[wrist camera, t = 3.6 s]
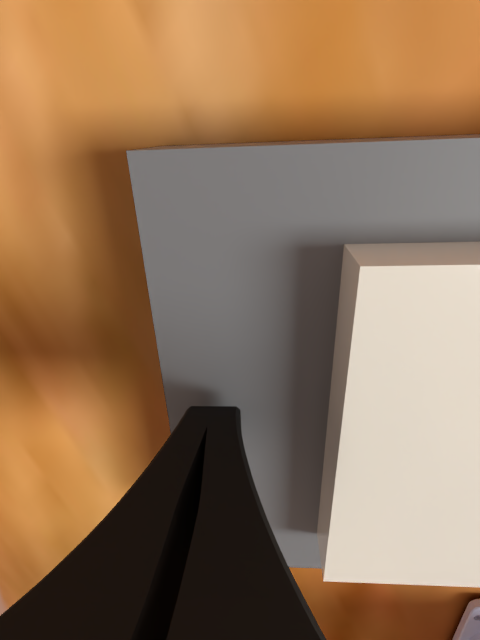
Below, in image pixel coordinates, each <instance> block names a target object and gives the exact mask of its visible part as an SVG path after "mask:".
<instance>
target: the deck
mask: <svg viewBox="0 0 480 640" xmlns="http://www.w3.org/2000/svg"><path fill="white" fill-rule="evenodd" d="M126 153H127V159H128V166H129V172H130V178H131V185H132V191H133V197H134V204H135V210H136V216H137V222H138V229H139V235H140V241H141V248H142V254H143V260H144V267H145V273H146V279H147V286H148V292H149V298H150V304H151V311H152V317H153V323H154V330H155V336H156V342H157V349H158V355H159V361H160V367H161V374H162V380H163V386H164V393H165V399H166V405H167V412H168V418H169V424H170V431H171V434H172V432H173V431H174V429H175V428H176V426H177V425H178V423H179V421H180V420H181V418H182V417H183V415H184V414H185V412H186V410H187V409H188V408H189V407H190V406H236V407H238V408H239V409H240V410H241V430H242V439H243V444H244V448H245V453H246V456H247V460H248V464H249V467H250V471H251V474H252V477H253V480H254V484H255V487H256V490H257V492H258V495H259V498H260V501H261V504H262V506H263V509H264V512H265V514H266V517H267V519H268V522H269V524H270V527H271V529H272V531H273V534H274V536H275V538H276V541H277V543H278V545H279V548H280V550H281V552H282V554H283V556H284V558H285V560H286V563H287V565H288V567H297V568H322V567H321V560H320V553H319V545H318V538H317V527H318V517H319V506H320V495H321V485H322V474H323V463H324V453H325V442H326V431H327V421H328V410H329V399H330V389H331V378H332V368H333V357H334V346H335V336H336V325H337V314H338V304H339V293H340V282H341V272H342V261H343V250H344V244H381V243H433V242H480V134H468V135H441V136H414V137H388V138H361V139H334V140H307V141H281V142H254V143H227V144H201V145H174V146H158V147H151V148H143V149H136V150H128V151H126Z"/></svg>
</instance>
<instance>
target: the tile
mask: <svg viewBox="0 0 480 640" xmlns="http://www.w3.org/2000/svg"><path fill="white" fill-rule="evenodd" d="M317 538H318V545H319V553H320V560H321V567H322V575H323V581H329V582H355V583H381V584H406V585H432V586H457V587H480V242H433V243H381V244H344V250H343V261H342V272H341V282H340V293H339V304H338V314H337V325H336V336H335V346H334V357H333V368H332V378H331V389H330V399H329V410H328V421H327V431H326V442H325V453H324V463H323V474H322V485H321V495H320V506H319V517H318V527H317Z"/></svg>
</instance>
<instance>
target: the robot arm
mask: <svg viewBox="0 0 480 640" xmlns="http://www.w3.org/2000/svg"><path fill="white" fill-rule="evenodd" d="M0 640H326V638H325V637H324V635H323V633H322V631H321V629H320V628H319V626H318V624H317V622H316V620H315V618H314V616H313V614H312V612H311V610H310V608H309V606H308V604H307V603H306V601H305V599H304V597H303V595H302V593H301V591H300V589H299V587H298V585H297V583H296V581H295V579H294V577H293V575H292V573H291V571H290V569H289V567H288V565H287V563H286V560H285V558H284V556H283V554H282V552H281V550H280V548H279V545H278V543H277V541H276V538H275V536H274V534H273V531H272V529H271V527H270V524H269V522H268V519H267V517H266V514H265V512H264V509H263V506H262V504H261V501H260V498H259V495H258V492H257V490H256V487H255V484H254V480H253V477H252V474H251V471H250V467H249V464H248V460H247V456H246V453H245V448H244V444H243V439H242V430H241V410H240V409H239V408H238V407H236V406H190V407H189V408H188V409H187V410H186V412H185V414H184V415H183V417H182V418H181V420H180V421H179V423H178V425H177V426H176V428H175V429H174V431H173V432H172V434H171V435H170V436H169V438H168V439H167V441H166V442H165V444H164V445H163V447H162V448H161V449H160V451H159V452H158V453H157V455H156V456H155V457H154V459H153V460H152V461H151V463H150V464H149V465H148V467H147V468H146V469H145V471H144V472H143V473H142V474H141V476H140V477H139V478H138V479H137V480H136V482H135V483H134V484H133V485H132V487H131V488H130V489H129V490H128V491H127V493H126V494H125V495H124V496H123V497H122V499H121V500H120V501H119V502H118V503H117V504H116V506H115V507H114V508H113V509H112V510H111V511H110V512H109V513H108V515H107V516H106V517H105V518H104V519H103V520H102V521H101V522H100V523H99V524H98V525H97V526H96V527H95V528H94V529H93V531H92V532H91V533H90V534H89V535H88V536H87V537H86V538H85V539H84V540H83V541H82V542H81V543H80V544H79V545H78V546H77V547H76V548H75V549H74V550H73V551H72V552H71V553H70V554H69V555H67V556H66V557H65V558H64V559H63V560H62V561H61V562H60V563H59V564H58V565H57V566H56V567H55V568H54V569H53V570H52V571H51V572H50V573H49V574H48V575H47V576H45V577H44V578H43V579H42V580H41V581H40V582H39V583H38V584H37V585H36V586H34V587H33V588H32V589H31V590H30V591H29V592H28V593H26V594H25V595H24V596H23V597H22V598H21V599H19V600H18V601H17V602H16V603H15V604H14V605H12V606H11V607H10V608H9V609H8V610H7V611H5V612H4V613H3V614H2V615H1V616H0ZM452 640H480V599H474V600H472V601H470V602H469V603H468V605H467V608H466V610H465V612H464V614H463V617H462V619H461V621H460V623H459V626H458V628H457V630H456V632H455V634H454V637H453V639H452Z"/></svg>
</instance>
